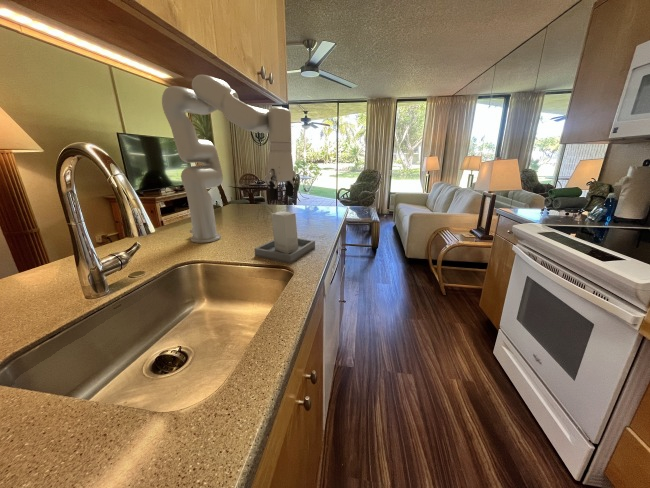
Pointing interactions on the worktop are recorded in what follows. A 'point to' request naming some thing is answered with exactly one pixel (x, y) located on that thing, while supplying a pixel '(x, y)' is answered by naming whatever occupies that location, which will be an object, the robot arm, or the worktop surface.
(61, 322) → the worktop surface
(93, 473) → the worktop surface
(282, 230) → the skincare box
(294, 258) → the tray
